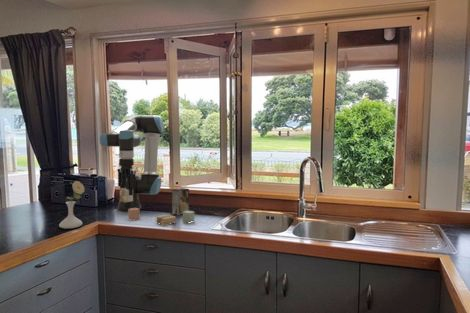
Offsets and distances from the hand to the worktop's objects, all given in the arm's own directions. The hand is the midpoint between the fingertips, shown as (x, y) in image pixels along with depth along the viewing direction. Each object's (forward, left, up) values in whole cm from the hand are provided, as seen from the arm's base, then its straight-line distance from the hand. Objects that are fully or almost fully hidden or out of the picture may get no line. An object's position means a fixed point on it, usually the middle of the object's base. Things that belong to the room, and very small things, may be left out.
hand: (126, 200), depth 179 cm
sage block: (+20, +28, -14) cm, 37 cm away
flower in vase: (-20, -20, -15) cm, 32 cm away
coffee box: (+2, +39, -15) cm, 42 cm away
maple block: (0, 0, 0) cm, 0 cm away
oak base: (+12, +18, -15) cm, 26 cm away
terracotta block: (-10, +12, -14) cm, 21 cm away
